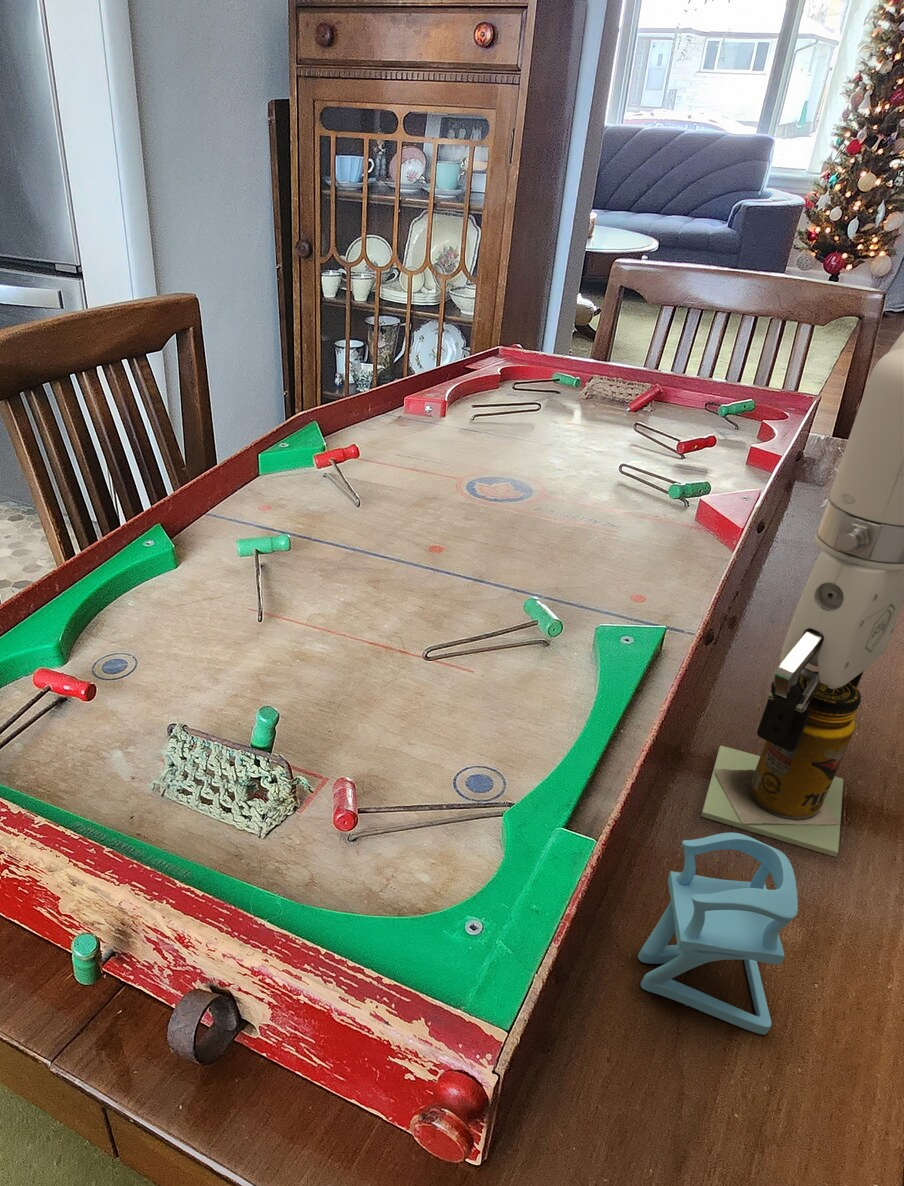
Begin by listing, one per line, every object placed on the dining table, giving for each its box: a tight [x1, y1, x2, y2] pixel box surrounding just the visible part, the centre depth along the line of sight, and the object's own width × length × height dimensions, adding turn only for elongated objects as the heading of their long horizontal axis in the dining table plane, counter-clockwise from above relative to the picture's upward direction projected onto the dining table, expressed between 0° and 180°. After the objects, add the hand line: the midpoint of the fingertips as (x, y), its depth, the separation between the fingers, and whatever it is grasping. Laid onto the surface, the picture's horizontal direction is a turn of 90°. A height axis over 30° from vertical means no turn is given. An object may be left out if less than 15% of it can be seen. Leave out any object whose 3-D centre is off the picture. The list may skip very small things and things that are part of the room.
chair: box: [637, 832, 799, 1036], centre depth 61 cm, size 8×8×12 cm
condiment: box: [713, 670, 862, 825], centre depth 77 cm, size 7×8×12 cm
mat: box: [700, 745, 844, 858], centre depth 81 cm, size 11×11×1 cm
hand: (803, 720), depth 76 cm, fingers open, 9 cm apart
